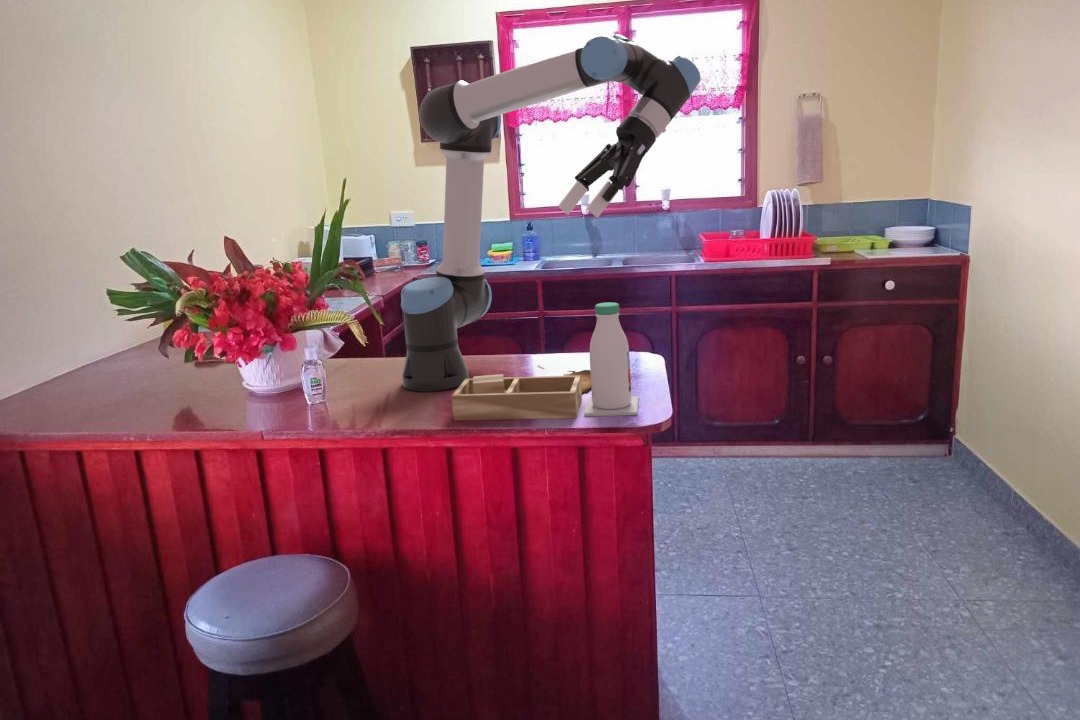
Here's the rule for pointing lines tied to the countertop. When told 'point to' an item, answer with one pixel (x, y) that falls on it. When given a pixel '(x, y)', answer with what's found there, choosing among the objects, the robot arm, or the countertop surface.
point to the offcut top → (488, 384)
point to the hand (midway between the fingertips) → (577, 211)
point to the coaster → (627, 410)
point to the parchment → (582, 379)
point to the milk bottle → (609, 360)
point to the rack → (520, 399)
